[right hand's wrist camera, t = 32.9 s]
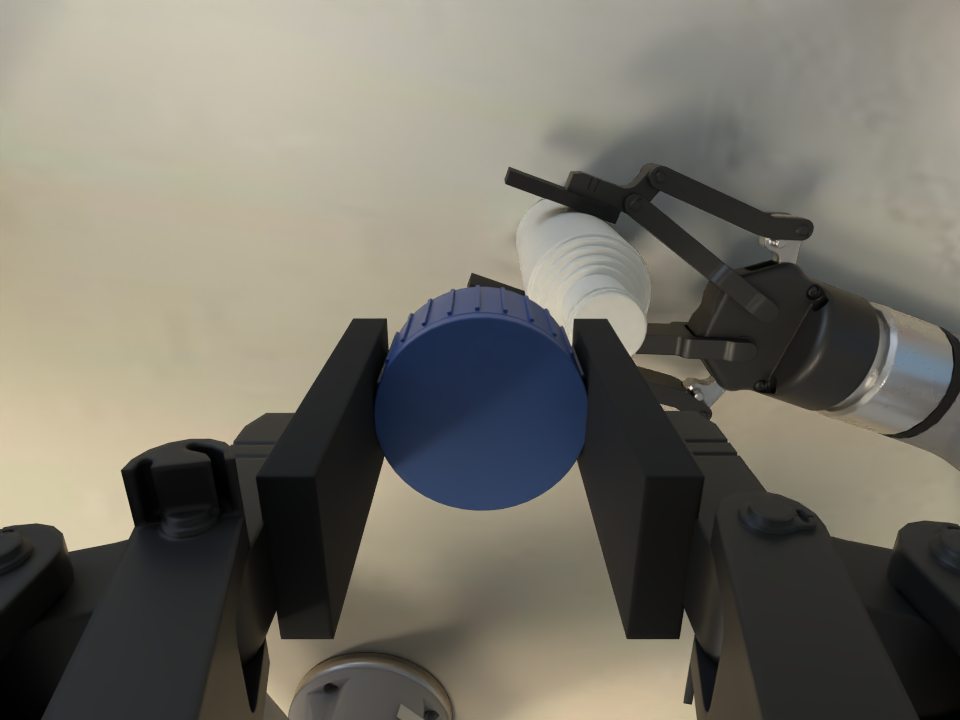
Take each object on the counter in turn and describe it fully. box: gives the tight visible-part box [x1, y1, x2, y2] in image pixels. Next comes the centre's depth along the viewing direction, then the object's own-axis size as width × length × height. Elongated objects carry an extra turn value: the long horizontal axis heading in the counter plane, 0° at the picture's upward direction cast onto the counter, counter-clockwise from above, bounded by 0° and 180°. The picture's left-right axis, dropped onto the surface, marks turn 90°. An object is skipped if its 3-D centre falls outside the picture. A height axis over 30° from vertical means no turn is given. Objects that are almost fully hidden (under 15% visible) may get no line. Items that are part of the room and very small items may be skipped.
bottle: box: [516, 199, 652, 357], centre depth 34 cm, size 6×6×20 cm
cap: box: [374, 285, 588, 510], centre depth 13 cm, size 4×4×2 cm
